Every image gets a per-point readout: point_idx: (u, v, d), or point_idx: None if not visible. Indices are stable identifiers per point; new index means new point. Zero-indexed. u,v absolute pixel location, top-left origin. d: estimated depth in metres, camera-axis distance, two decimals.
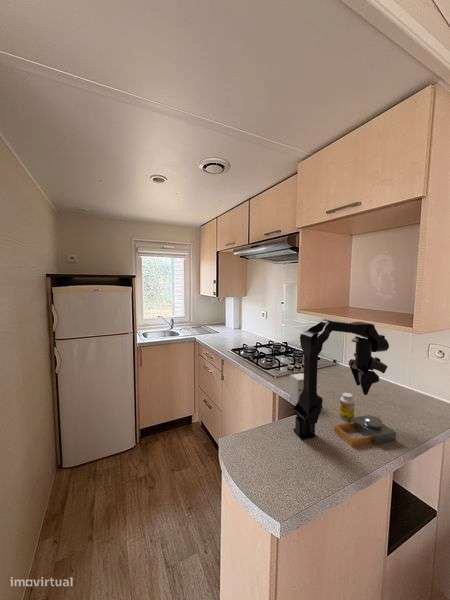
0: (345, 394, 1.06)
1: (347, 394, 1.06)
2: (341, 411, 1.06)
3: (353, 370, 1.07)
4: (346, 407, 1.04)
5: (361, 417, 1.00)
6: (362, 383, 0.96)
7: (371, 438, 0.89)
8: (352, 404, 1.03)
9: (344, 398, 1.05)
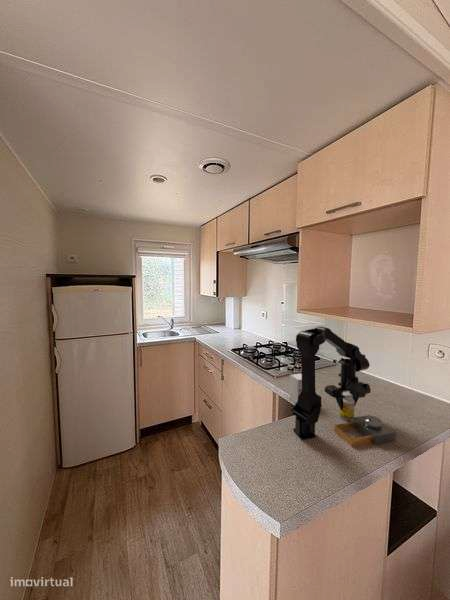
0: (345, 394, 1.06)
1: (347, 394, 1.06)
2: (341, 411, 1.06)
3: (350, 391, 1.08)
4: (347, 407, 1.04)
5: (361, 417, 1.00)
6: None
7: (371, 438, 0.89)
8: (352, 404, 1.03)
9: (344, 398, 1.05)
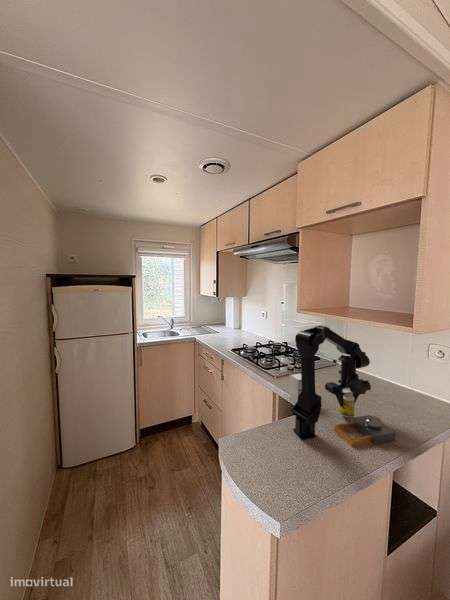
0: (345, 391, 1.06)
1: (347, 391, 1.06)
2: (341, 408, 1.05)
3: (350, 388, 1.08)
4: (347, 404, 1.03)
5: (361, 417, 1.00)
6: None
7: (371, 438, 0.89)
8: (352, 401, 1.03)
9: (344, 395, 1.05)
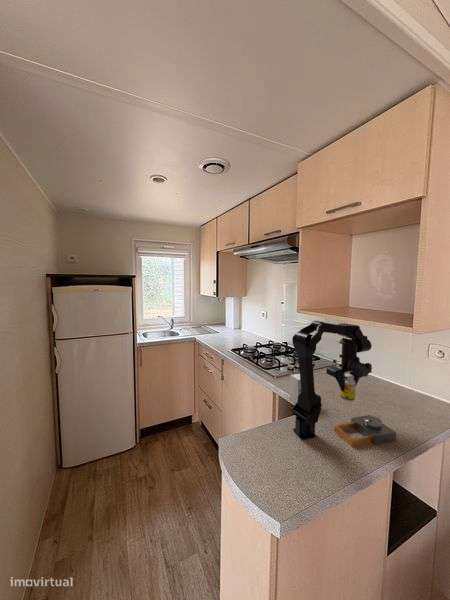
0: (346, 375, 1.04)
1: (348, 375, 1.04)
2: (342, 392, 1.04)
3: (350, 372, 1.07)
4: (348, 388, 1.02)
5: (361, 417, 1.00)
6: (336, 377, 1.04)
7: (371, 438, 0.89)
8: (354, 385, 1.02)
9: None
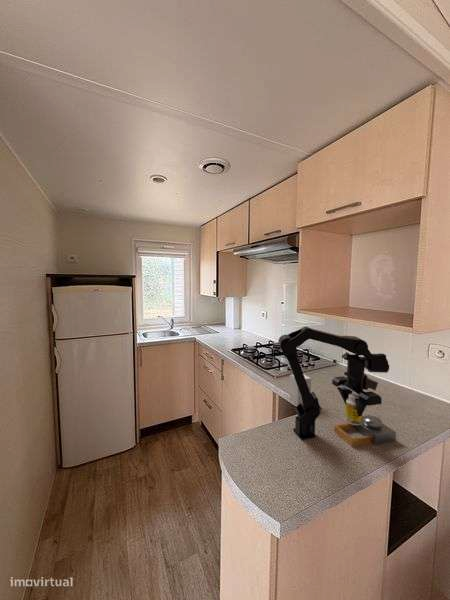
0: (355, 396, 0.91)
1: (354, 395, 0.92)
2: (359, 418, 0.90)
3: (343, 392, 0.95)
4: None
5: None
6: (359, 405, 0.87)
7: (371, 438, 0.89)
8: None
9: None
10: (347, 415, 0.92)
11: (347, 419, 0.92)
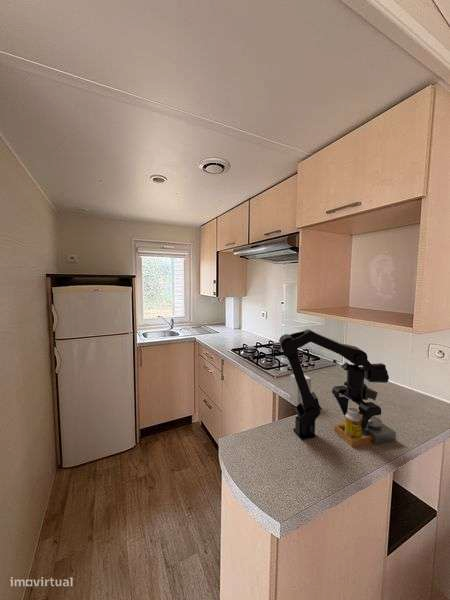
0: (354, 411, 0.92)
1: (353, 410, 0.93)
2: (358, 433, 0.91)
3: (340, 399, 0.97)
4: None
5: None
6: (363, 417, 0.86)
7: (371, 438, 0.89)
8: None
9: (358, 416, 0.91)
10: (346, 430, 0.93)
11: None
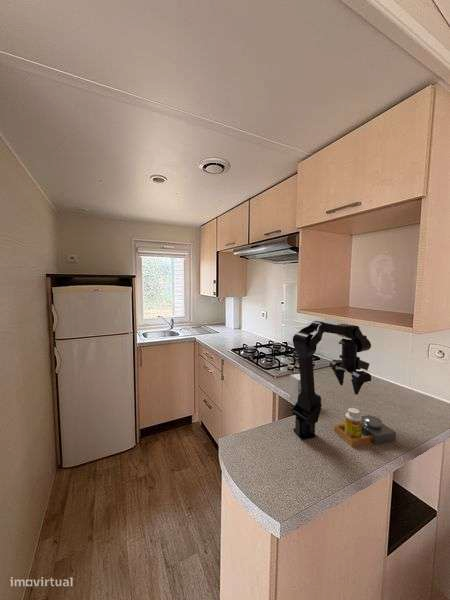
0: (354, 411, 0.92)
1: (353, 410, 0.93)
2: (358, 432, 0.91)
3: (337, 371, 1.09)
4: (361, 424, 0.92)
5: None
6: (355, 384, 0.98)
7: (371, 438, 0.89)
8: None
9: (358, 416, 0.91)
10: (346, 430, 0.93)
11: None
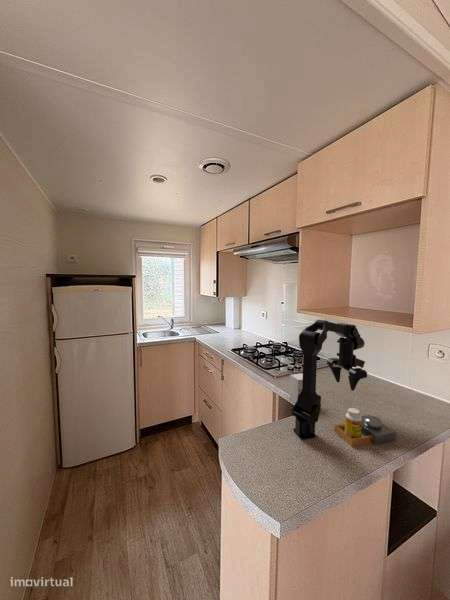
0: (354, 411, 0.92)
1: (353, 410, 0.93)
2: (358, 433, 0.91)
3: (334, 369, 1.14)
4: (361, 424, 0.92)
5: None
6: (352, 380, 1.03)
7: (371, 438, 0.89)
8: None
9: (358, 416, 0.91)
10: (346, 430, 0.93)
11: None
